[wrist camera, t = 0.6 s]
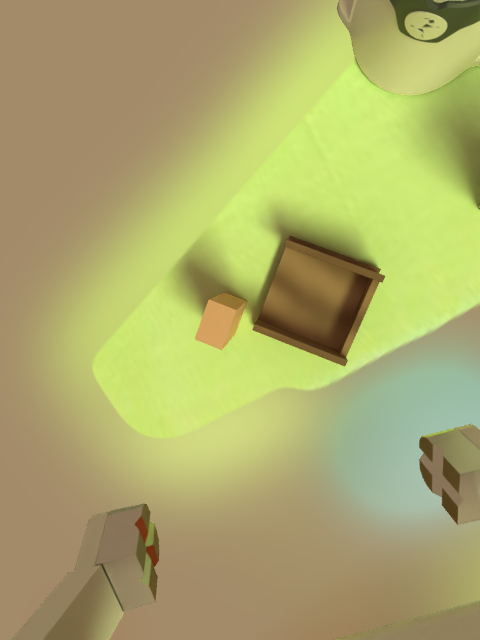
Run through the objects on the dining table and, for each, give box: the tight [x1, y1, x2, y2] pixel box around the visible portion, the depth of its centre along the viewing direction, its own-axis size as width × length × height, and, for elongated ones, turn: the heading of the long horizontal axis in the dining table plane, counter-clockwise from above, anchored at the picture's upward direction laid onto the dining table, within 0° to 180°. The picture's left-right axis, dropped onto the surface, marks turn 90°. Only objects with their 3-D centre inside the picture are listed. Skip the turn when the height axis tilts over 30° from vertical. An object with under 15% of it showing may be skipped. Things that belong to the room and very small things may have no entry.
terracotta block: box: [195, 292, 247, 350], centre depth 48 cm, size 5×3×9 cm
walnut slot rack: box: [253, 236, 385, 366], centre depth 48 cm, size 13×12×5 cm
